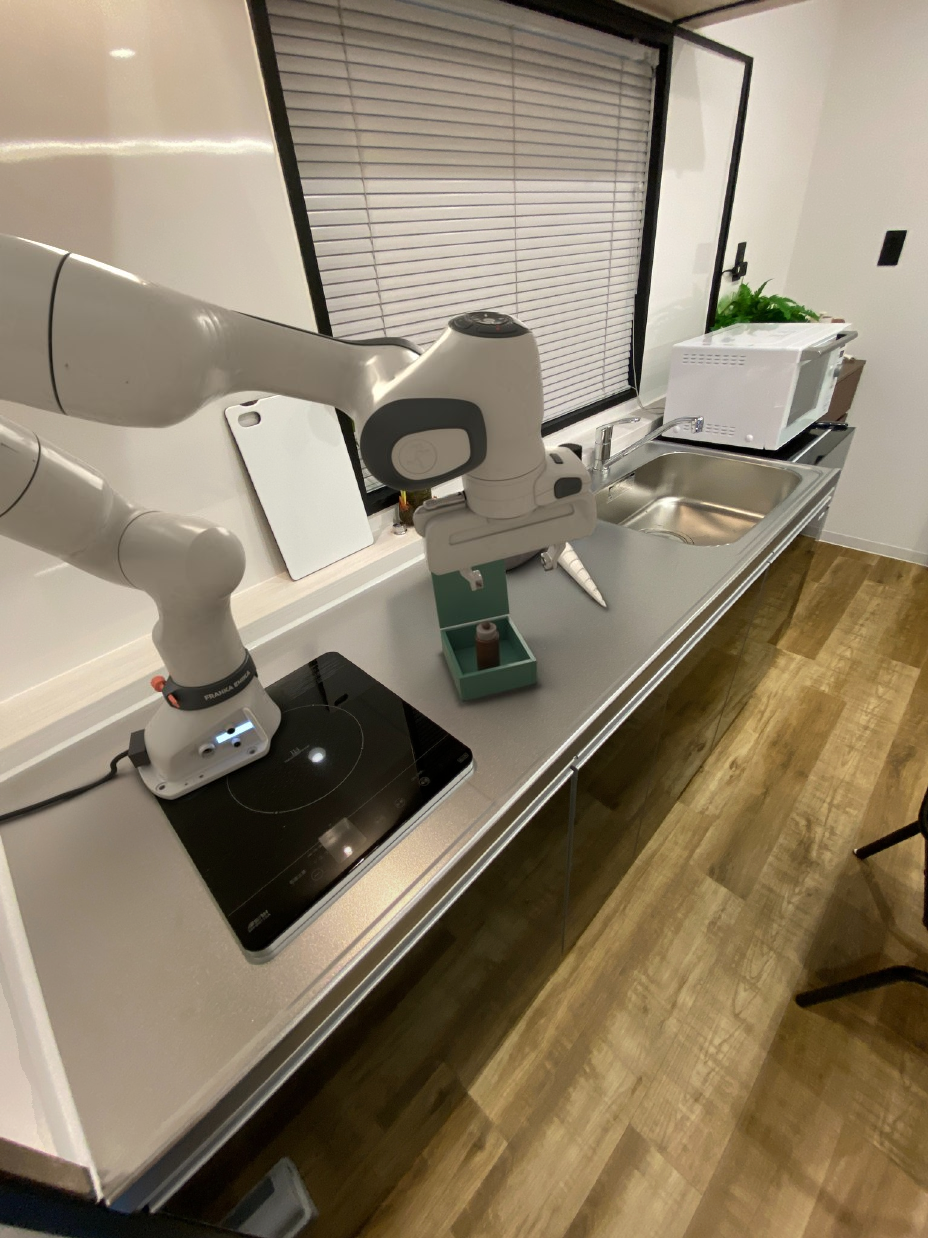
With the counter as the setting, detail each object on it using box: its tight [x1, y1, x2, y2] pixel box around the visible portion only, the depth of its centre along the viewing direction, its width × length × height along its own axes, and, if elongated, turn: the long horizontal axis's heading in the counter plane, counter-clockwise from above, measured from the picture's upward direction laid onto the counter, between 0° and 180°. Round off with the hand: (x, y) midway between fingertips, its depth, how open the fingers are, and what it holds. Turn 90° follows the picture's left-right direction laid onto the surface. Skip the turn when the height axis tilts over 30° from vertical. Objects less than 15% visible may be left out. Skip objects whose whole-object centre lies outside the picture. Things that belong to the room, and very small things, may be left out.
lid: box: [430, 559, 511, 630], centre depth 97 cm, size 15×14×1 cm
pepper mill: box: [475, 620, 500, 671], centre depth 94 cm, size 4×4×11 cm
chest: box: [439, 614, 538, 702], centre depth 96 cm, size 15×14×6 cm
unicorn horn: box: [557, 542, 607, 608], centre depth 119 cm, size 5×24×5 cm, turn 11°
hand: (513, 576), depth 67 cm, fingers open, 8 cm apart
